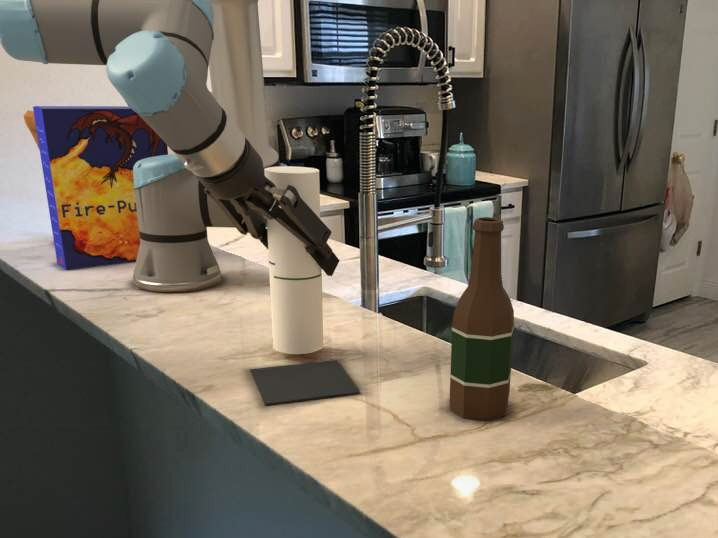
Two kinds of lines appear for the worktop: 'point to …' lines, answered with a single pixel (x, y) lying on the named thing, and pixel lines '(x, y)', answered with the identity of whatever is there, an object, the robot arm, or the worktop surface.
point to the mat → (302, 382)
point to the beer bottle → (482, 332)
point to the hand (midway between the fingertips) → (311, 263)
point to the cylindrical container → (295, 271)
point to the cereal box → (93, 180)
